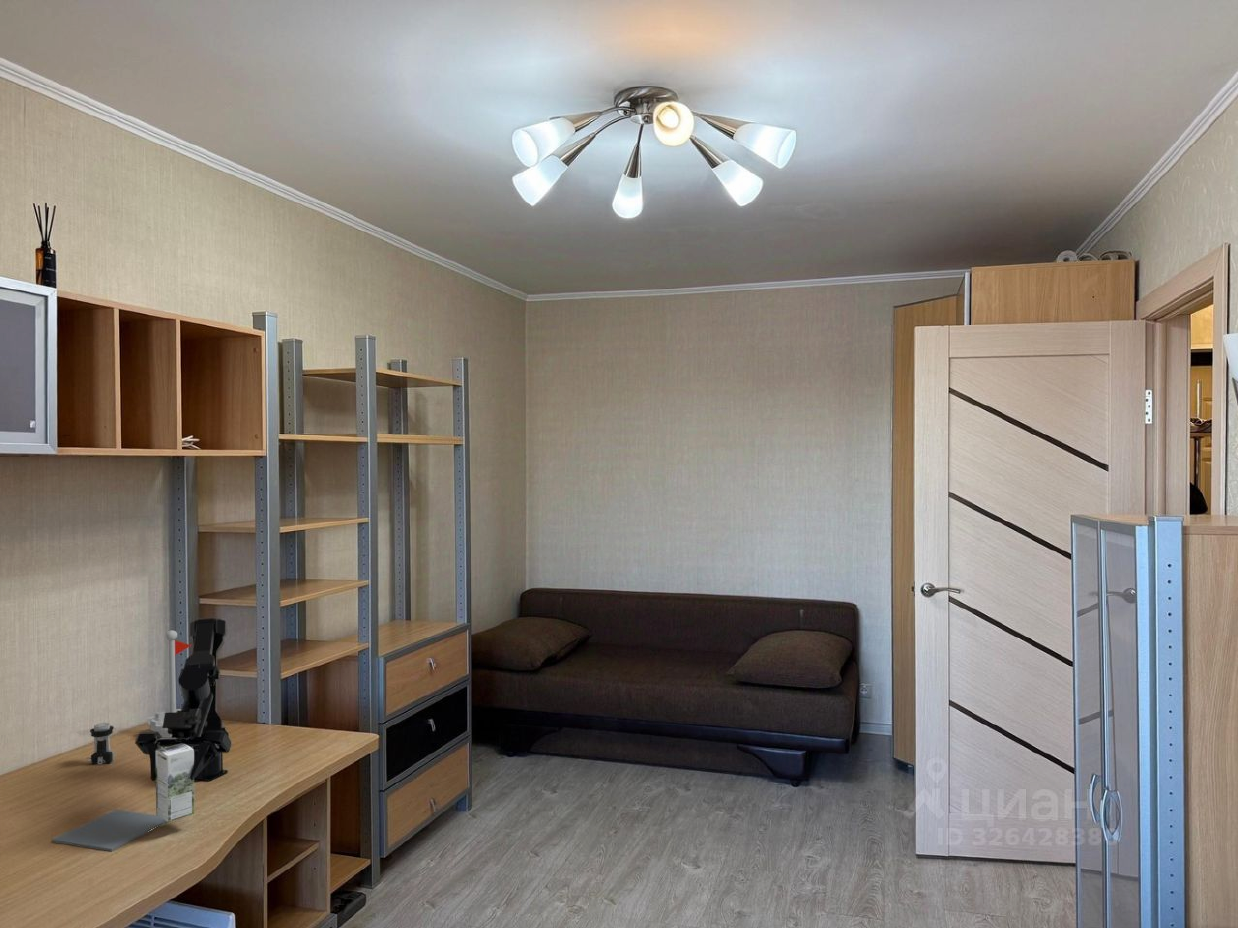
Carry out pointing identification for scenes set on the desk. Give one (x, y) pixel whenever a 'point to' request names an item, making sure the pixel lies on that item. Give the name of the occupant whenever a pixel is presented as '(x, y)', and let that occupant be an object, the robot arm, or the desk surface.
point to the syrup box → (174, 782)
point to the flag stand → (174, 649)
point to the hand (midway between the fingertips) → (172, 779)
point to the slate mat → (111, 830)
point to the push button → (101, 744)
